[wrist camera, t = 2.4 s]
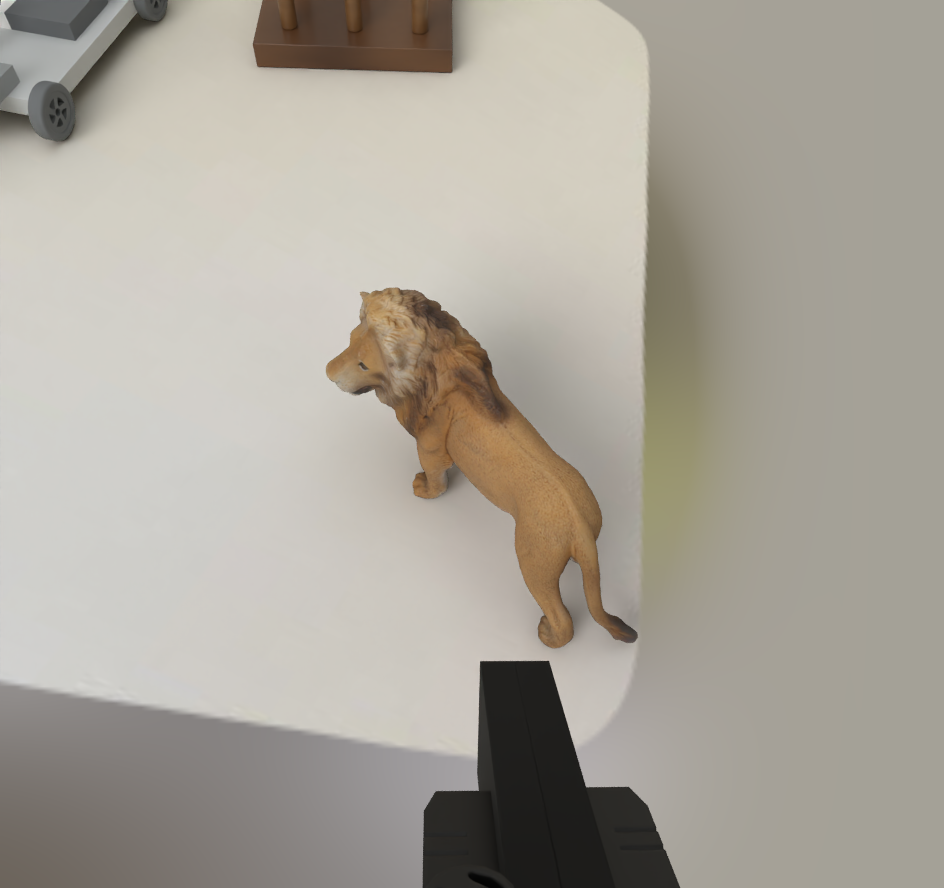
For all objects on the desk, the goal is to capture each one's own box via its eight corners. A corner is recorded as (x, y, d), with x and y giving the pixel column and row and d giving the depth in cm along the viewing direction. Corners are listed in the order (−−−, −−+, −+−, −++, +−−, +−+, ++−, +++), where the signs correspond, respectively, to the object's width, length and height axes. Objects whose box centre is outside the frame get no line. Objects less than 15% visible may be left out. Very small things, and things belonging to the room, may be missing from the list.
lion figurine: (326, 453, 34) (297, 314, 26) (415, 383, 36) (410, 236, 29) (591, 693, 29) (648, 605, 22) (674, 595, 31) (753, 484, 24)
